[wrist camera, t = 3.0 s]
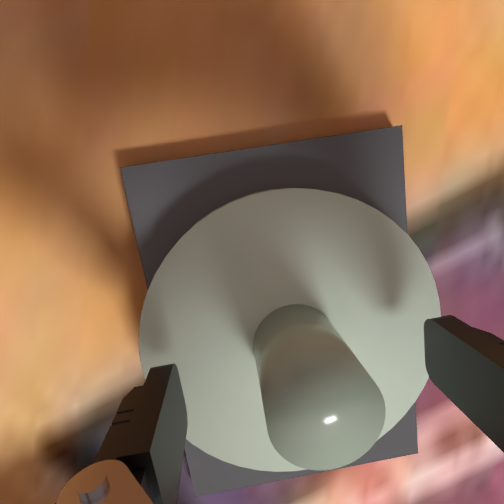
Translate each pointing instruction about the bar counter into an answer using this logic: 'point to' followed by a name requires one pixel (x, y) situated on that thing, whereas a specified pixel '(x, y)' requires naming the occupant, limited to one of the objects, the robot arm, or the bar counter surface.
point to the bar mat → (255, 180)
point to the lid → (291, 328)
